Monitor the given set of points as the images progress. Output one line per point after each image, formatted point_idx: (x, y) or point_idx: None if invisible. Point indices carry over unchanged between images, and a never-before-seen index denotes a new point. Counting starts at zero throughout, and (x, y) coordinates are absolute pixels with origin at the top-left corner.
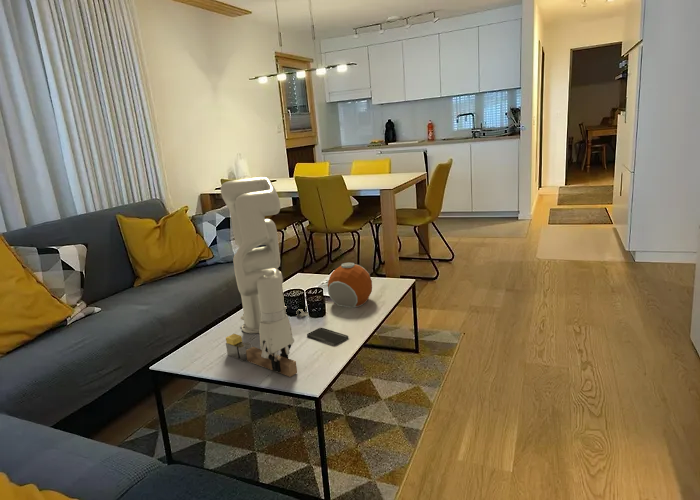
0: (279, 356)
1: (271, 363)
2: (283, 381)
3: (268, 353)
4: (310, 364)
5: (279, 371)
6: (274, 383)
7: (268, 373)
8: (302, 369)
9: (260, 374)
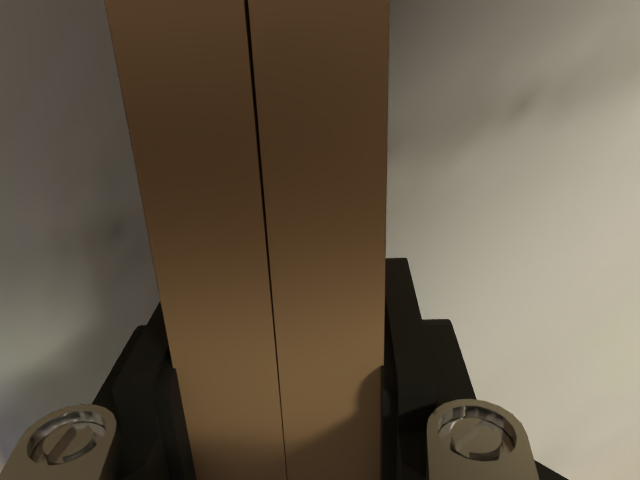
0: (350, 380)
1: (104, 382)
2: None
3: (312, 17)
4: (622, 467)
5: None
6: None
7: None
8: None
9: (38, 104)
